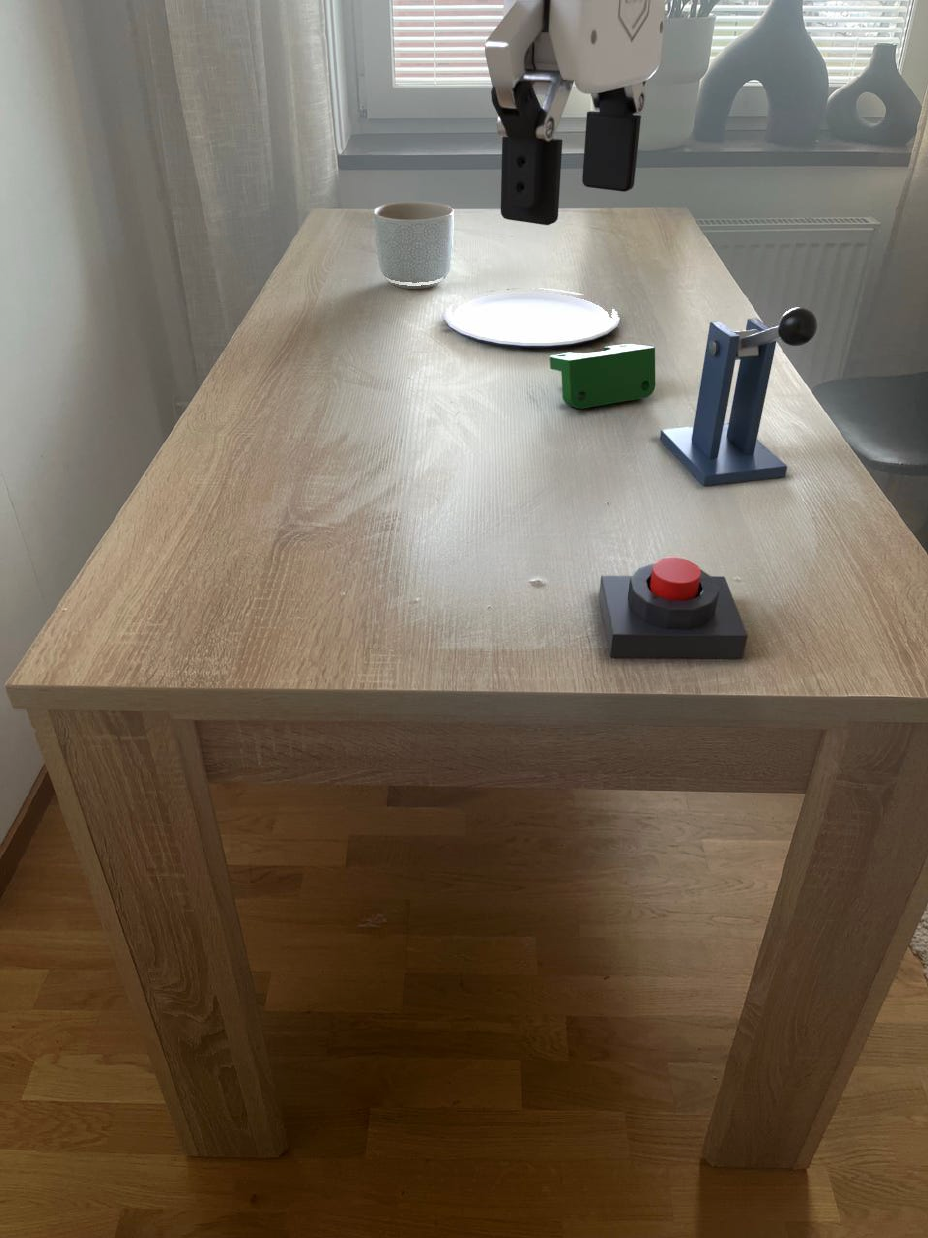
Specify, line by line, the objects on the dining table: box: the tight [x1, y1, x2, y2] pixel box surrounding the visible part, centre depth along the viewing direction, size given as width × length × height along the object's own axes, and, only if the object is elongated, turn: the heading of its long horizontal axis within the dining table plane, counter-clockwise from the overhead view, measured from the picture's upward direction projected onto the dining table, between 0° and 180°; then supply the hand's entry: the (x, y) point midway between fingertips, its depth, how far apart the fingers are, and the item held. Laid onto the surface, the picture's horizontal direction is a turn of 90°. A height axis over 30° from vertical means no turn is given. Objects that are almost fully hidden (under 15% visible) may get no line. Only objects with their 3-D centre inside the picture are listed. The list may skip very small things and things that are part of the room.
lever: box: [734, 307, 818, 361], centre depth 85 cm, size 13×3×3 cm, turn 13°
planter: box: [372, 201, 455, 290], centre depth 144 cm, size 12×12×11 cm
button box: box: [598, 562, 748, 660], centre depth 71 cm, size 10×8×4 cm
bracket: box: [659, 317, 788, 487], centre depth 93 cm, size 11×9×14 cm
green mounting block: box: [549, 343, 656, 410], centre depth 108 cm, size 12×6×9 cm, turn 106°
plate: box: [443, 287, 621, 349], centre depth 131 cm, size 25×25×1 cm
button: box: [650, 557, 701, 601], centre depth 70 cm, size 4×4×2 cm
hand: (570, 203), depth 52 cm, fingers open, 9 cm apart
